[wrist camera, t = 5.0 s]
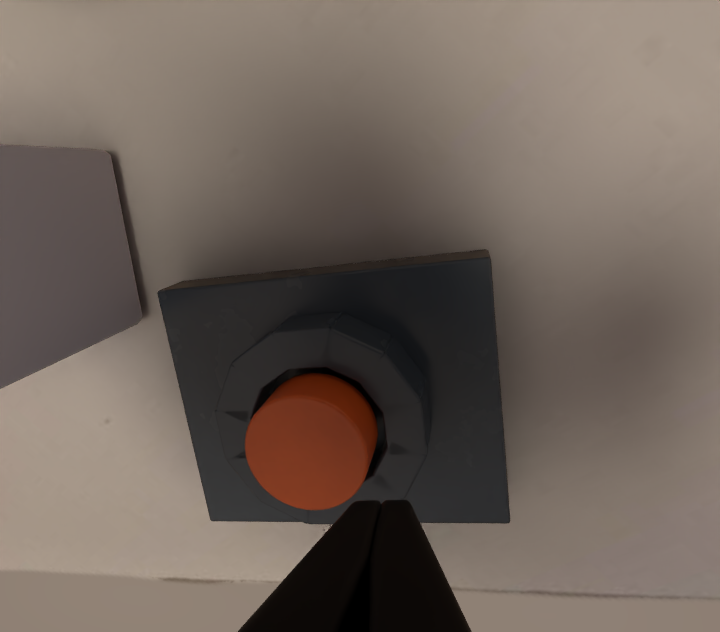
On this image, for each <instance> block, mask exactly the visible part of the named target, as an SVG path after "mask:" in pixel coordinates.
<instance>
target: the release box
mask: <svg viewBox="0 0 720 632" xmlns="http://www.w3.org/2000/svg"><path fill="white" fill-rule="evenodd" d="M158 298H159V302H160V306H161V310H162V315H163V319H164V323H165V328H166V332H167V336H168V340H169V345H170V349H171V353H172V358H173V362H174V366H175V370H176V375H177V379H178V383H179V387H180V392H181V396H182V400H183V405H184V409H185V413H186V417H187V422H188V426H189V430H190V435H191V439H192V443H193V447H194V452H195V456H196V460H197V465H198V469H199V473H200V477H201V482H202V486H203V490H204V494H205V499H206V503H207V507H208V512H209V516H210V520H211V521H259V522H304V523H306V524H307V523H308V524H334V523H335V522H336V521H337V520H338V519H339V517H340V516H341V515H342V514H343V513H344V512H345V511H346V510H347V508H348V507H349V506H350V505H351V504H352V503H353V502H355V501H363V500H378V501H380V503H381V504H382V503H383V502H384V501H385V500H408V501H409V502H410V503H411V505H412V507H413V509H414V511H415V513H416V516H417V518H418V520H419V522H420V523H509V522H510V509H509V496H508V482H507V469H506V456H505V442H504V429H503V415H502V402H501V388H500V375H499V362H498V348H497V335H496V321H495V308H494V294H493V281H492V267H491V258H490V254H489V251H488V250H486V249H484V250H475V251H465V252H455V253H446V254H436V255H427V256H417V257H408V258H398V259H389V260H379V261H370V262H360V263H351V264H341V265H332V266H322V267H313V268H303V269H294V270H284V271H275V272H265V273H256V274H246V275H236V276H227V277H217V278H208V279H198V280H189V281H182V282H179V283H177V284H174V285H172V286H169V287H167V288H164V289H161V290H159V291H158ZM307 373H322V374H328V375H332V376H335V377H338V378H340V379H342V380H344V381H346V382H348V383H349V384H351V385H352V386H354V387H355V388H356V389H357V390H358V391H359V392H361V394H362V395H363V396H364V397H365V398H366V400H367V401H368V403H369V404H370V406H371V408H372V410H373V412H374V415H375V417H376V421H377V427H378V438H377V444H376V448H375V451H374V454H373V457H372V460H371V463H370V466H369V469H368V472H367V475H366V477H365V480H364V482H363V484H362V486H361V487H360V489H359V490H358V491H357V492H356V494H355V495H353V496H352V497H351V498H350V499H349V500H347V501H346V502H344V503H342V504H340V505H338V506H336V507H333V508H330V509H324V510H305V509H299V508H296V507H292V506H290V505H287V504H285V503H283V502H281V501H279V500H278V499H276V498H275V497H273V496H272V495H270V494H269V493H268V492H267V491H266V490H265V489H264V488H263V487H262V486H261V485H260V484H259V482H258V481H257V480H256V478H255V477H254V475H253V473H252V472H251V470H250V467H249V465H248V462H247V458H246V453H245V436H246V431H247V428H248V425H249V423H250V421H251V419H252V417H253V416H254V414H255V413H256V412H257V411H258V410H259V408H260V407H261V406H262V405H263V404H264V403H265V402H266V400H267V399H268V398H269V397H270V396H271V395H272V394H273V392H274V391H275V390H276V389H277V388H278V387H279V386H280V385H281V384H282V383H284V382H285V381H287V380H289V379H290V378H293V377H295V376H298V375H302V374H307Z"/></svg>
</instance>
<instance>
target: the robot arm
mask: <svg viewBox="0 0 720 632" xmlns="http://www.w3.org/2000/svg"><path fill="white" fill-rule="evenodd" d="M238 632H471V630H470V628H469V626H468V623H467V621H466V619H465V617H464V615H463V613H462V611H461V609H460V606H459V604H458V602H457V600H456V598H455V596H454V594H453V592H452V589H451V587H450V585H449V583H448V581H447V579H446V577H445V575H444V573H443V570H442V568H441V566H440V564H439V562H438V560H437V558H436V556H435V554H434V551H433V549H432V547H431V545H430V543H429V541H428V539H427V537H426V535H425V532H424V530H423V528H422V526H421V524H420V522H419V520H418V518H417V516H416V513H415V511H414V509H413V507H412V505H411V503H410V502H409V501H408V500H385V501H384V502H383V503H382V504H381V503H380V501H378V500H363V501H355V502H353V503H352V504H351V505H350V506H349V507H348V508H347V510H346V511H345V512H344V513H343V514H342V515H341V516H340V517H339V519H338V520H337V521H336V522H335V523H334V524H333V525H332V526H331V528H330V529H329V530H328V531H327V532H326V533H325V534H324V535H323V537H322V538H321V539H320V540H319V541H318V542H317V543H316V544H315V545H314V547H313V548H312V549H311V550H310V551H309V552H308V553H307V554H306V556H305V557H304V558H303V559H302V560H301V561H300V562H299V563H298V565H297V566H296V567H295V568H294V569H293V570H292V571H291V572H290V574H289V575H288V576H287V577H286V578H285V579H284V580H283V581H282V582H281V584H280V585H279V586H278V587H277V588H276V589H275V590H274V591H273V593H272V594H271V595H270V596H269V597H268V598H267V599H266V600H265V602H264V603H263V604H262V605H261V606H260V607H259V608H258V609H257V611H256V612H255V613H254V614H253V615H252V616H251V617H250V618H249V619H248V621H247V622H246V623H245V624H244V625H243V626H242V627H241V629H240V630H239V631H238Z"/></svg>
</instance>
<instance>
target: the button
mask: <svg viewBox="0 0 720 632" xmlns="http://www.w3.org/2000/svg"><path fill="white" fill-rule="evenodd" d="M377 438H378V427H377V421H376V417H375V415H374V412H373V410H372V408H371V406H370V404H369V403H368V401H367V400H366V398H365V397H364V396H363V395H362V394H361V392H359V391H358V390H357V389H356V388H355V387H354V386H352V385H351V384H349V383H348V382H346V381H344V380H342V379H340V378H338V377H335V376H332V375H328V374H322V373H307V374H302V375H298V376H295V377H293V378H290V379H289V380H287V381H285V382H284V383H282V384H281V385H280V386H279V387H278V388H277V389H276V390H275V391H274V392H273V394H272V395H271V396H270V397H269V398H268V399H267V400H266V402H265V403H264V404H263V405H262V406H261V407H260V408H259V410H258V411H257V412H256V413H255V414H254V416H253V417H252V419H251V421H250V423H249V425H248V428H247V431H246V436H245V453H246V458H247V462H248V465H249V467H250V470H251V472H252V473H253V475H254V477H255V478H256V480H257V481H258V482H259V484H260V485H261V486H262V487H263V488H264V489H265V490H266V491H267V492H268V493H269V494H270V495H272V496H273V497H275V498H276V499H278V500H279V501H281V502H283V503H285V504H287V505H290V506H292V507H296V508H299V509H305V510H324V509H330V508H333V507H336V506H338V505H340V504H342V503H344V502H346V501H347V500H349V499H350V498H351V497H352V496H353V495H355V494H356V492H357V491H358V490H359V489H360V487H361V486H362V484H363V482H364V480H365V477H366V475H367V472H368V469H369V466H370V463H371V460H372V457H373V454H374V451H375V448H376V444H377Z"/></svg>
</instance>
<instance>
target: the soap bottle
mask: <svg viewBox="0 0 720 632" xmlns="http://www.w3.org/2000/svg"><path fill="white" fill-rule="evenodd" d="M142 317H143V316H142V311H141V306H140V301H139V296H138V291H137V286H136V281H135V276H134V271H133V266H132V261H131V255H130V250H129V245H128V240H127V235H126V230H125V225H124V220H123V215H122V210H121V205H120V200H119V195H118V190H117V185H116V180H115V175H114V170H113V164H112V159H111V155H110V154H109V153H108V152H106V151H103V150H97V149H84V148H64V147H44V146H24V145H4V144H0V389H1V388H3V387H5V386H7V385H9V384H12V383H14V382H16V381H18V380H20V379H22V378H24V377H26V376H29V375H31V374H33V373H35V372H37V371H39V370H41V369H43V368H45V367H48V366H50V365H52V364H54V363H56V362H58V361H60V360H62V359H64V358H67V357H69V356H71V355H73V354H75V353H77V352H79V351H81V350H83V349H86V348H88V347H90V346H92V345H94V344H96V343H98V342H100V341H102V340H105V339H107V338H109V337H111V336H113V335H115V334H117V333H119V332H121V331H124V330H126V329H128V328H130V327H132V326H134V325H136V324H138V322H139V321H140V320H141V318H142Z"/></svg>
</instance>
